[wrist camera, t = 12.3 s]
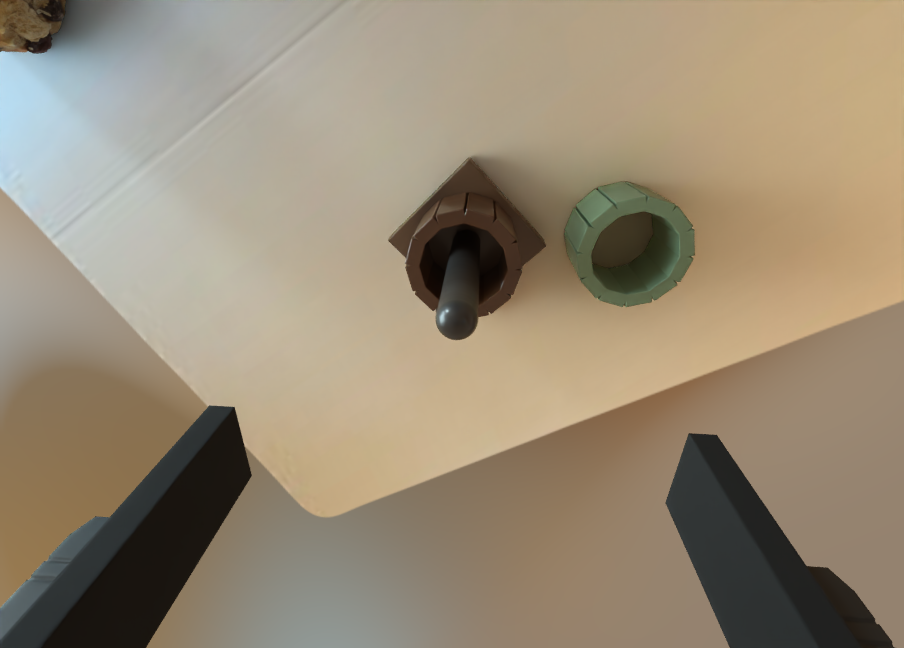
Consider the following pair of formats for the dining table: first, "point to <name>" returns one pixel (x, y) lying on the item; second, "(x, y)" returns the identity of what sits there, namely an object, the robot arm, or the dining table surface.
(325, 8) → the dining table surface
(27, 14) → the bread roll
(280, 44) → the dining table surface
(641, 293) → the sage ring
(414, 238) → the walnut ring
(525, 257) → the ring post
